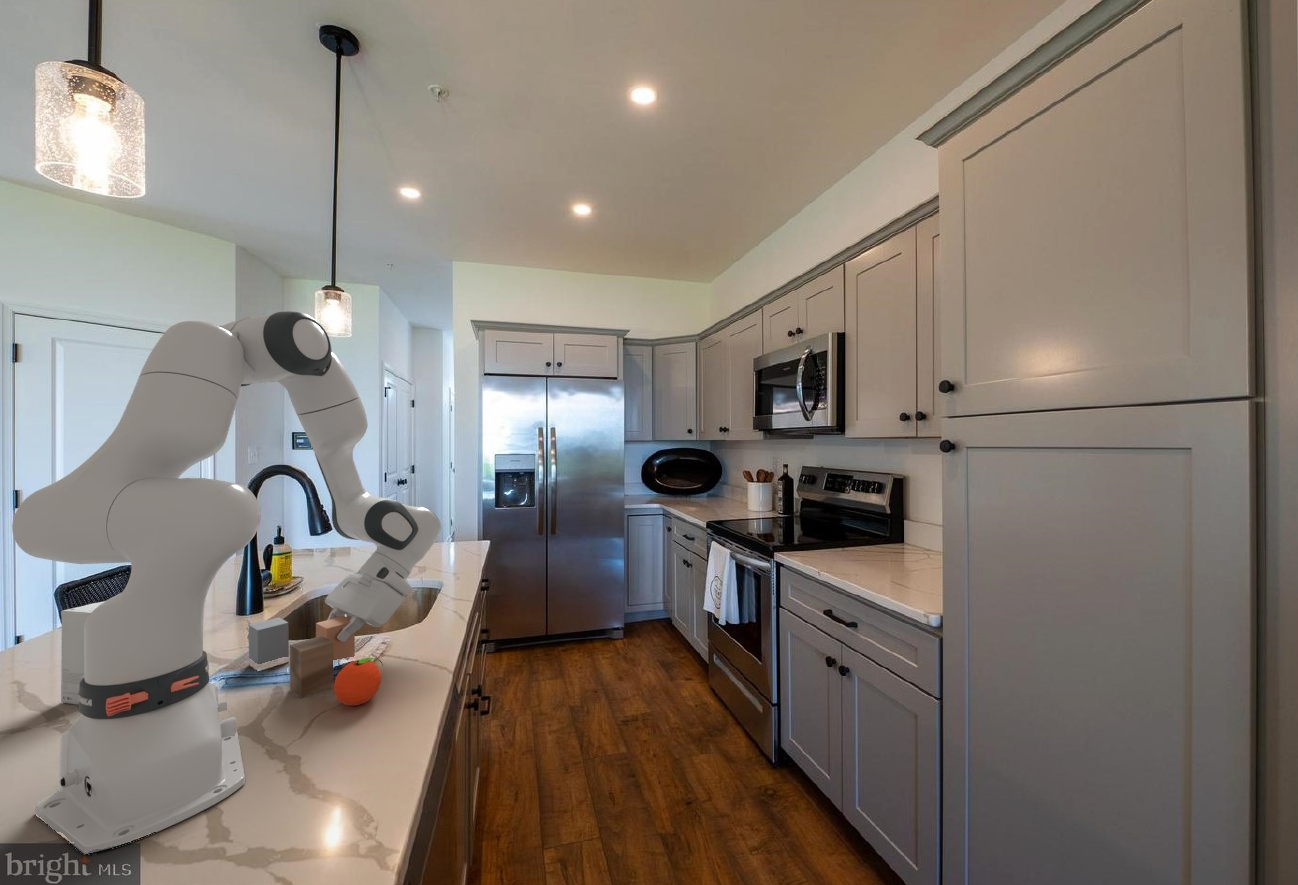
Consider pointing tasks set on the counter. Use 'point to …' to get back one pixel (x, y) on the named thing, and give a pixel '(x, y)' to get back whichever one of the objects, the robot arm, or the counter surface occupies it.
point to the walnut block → (311, 666)
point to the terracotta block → (329, 632)
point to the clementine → (357, 682)
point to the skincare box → (73, 650)
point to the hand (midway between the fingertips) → (331, 636)
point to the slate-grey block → (268, 640)
